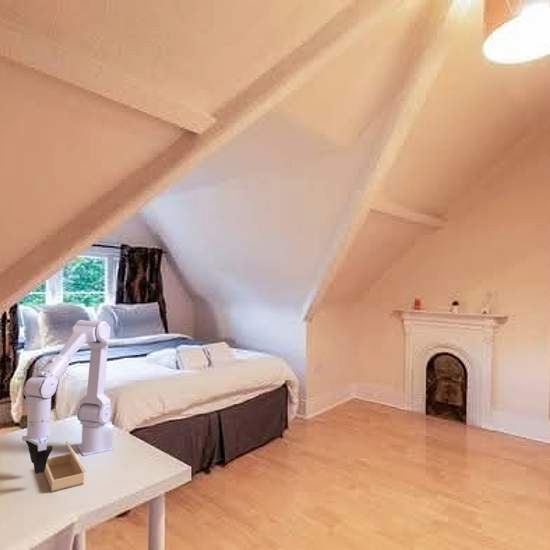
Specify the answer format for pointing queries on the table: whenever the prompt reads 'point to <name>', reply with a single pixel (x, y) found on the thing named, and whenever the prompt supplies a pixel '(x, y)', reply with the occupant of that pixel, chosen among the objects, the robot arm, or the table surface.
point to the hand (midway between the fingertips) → (37, 467)
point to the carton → (63, 472)
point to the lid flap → (75, 457)
